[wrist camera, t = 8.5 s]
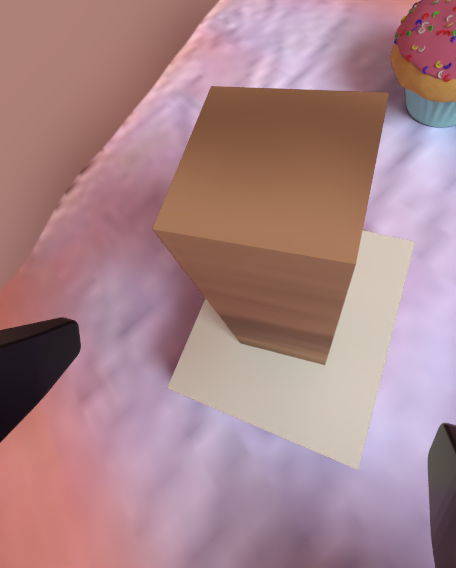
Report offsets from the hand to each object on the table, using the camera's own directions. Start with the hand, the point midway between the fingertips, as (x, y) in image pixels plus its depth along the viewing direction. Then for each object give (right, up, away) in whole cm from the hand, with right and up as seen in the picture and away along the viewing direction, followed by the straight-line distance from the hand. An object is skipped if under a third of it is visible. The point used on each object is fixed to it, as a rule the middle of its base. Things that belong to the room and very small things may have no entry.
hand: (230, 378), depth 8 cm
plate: (+4, 0, +13) cm, 13 cm away
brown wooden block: (+3, +1, +11) cm, 11 cm away
